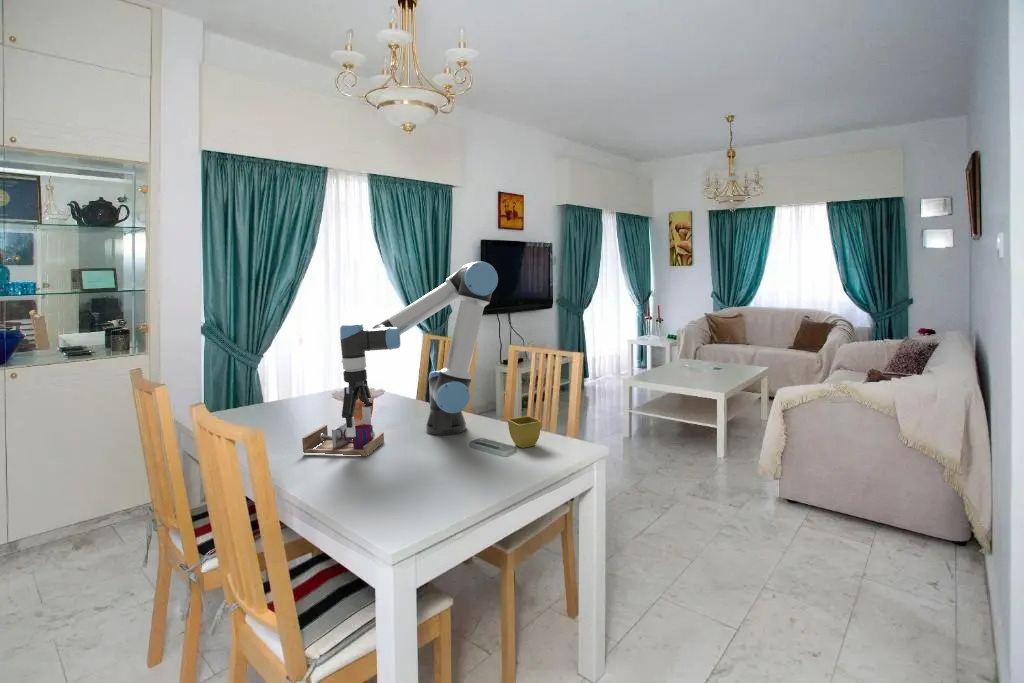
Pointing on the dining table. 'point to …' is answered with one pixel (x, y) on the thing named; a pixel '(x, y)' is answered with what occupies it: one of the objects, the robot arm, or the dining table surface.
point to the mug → (361, 435)
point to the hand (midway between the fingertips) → (359, 430)
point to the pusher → (337, 436)
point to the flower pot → (524, 431)
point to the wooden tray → (347, 449)
